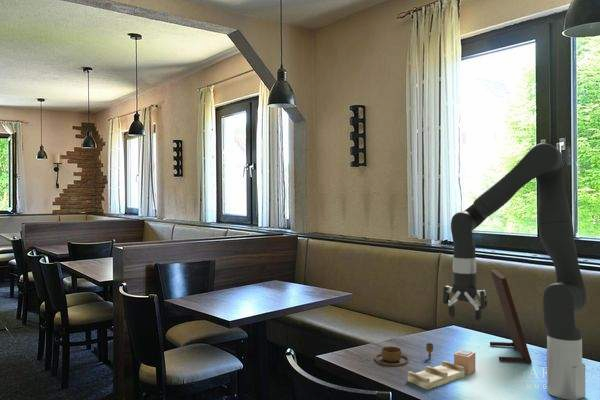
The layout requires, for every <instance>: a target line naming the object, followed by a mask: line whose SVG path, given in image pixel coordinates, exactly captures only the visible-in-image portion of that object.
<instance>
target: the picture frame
mask: <svg viewBox="0 0 600 400" xmlns="http://www.w3.org/2000/svg"><path fill="white" fill-rule="evenodd" d="M490 273H491V277H492V279H493V282H494V286H495V290H496V292H497V296H498V299H499V303H500V306H501V309H502V313H503V315H504V319H505V321H506V325H507V328H508V332H509V335H510V338H511V342H508V341H507V342H504V341H502V342H501V341H489V346H490V347H491V346H493V347H514V348H515V350H516V351H517V353H518V354H519V355H520V357H516V356H513V357H512V356H498V360H499V362H515V363H517V362H518V363H522V362H523V363H526V364H527V365H528V364H529V365H530V364H532V363H533V361H532V358H531V355H530V351H529V348H528V345H527V342H526V338H525V336H524V332H523V329H522V326H521V322H520V319H519V316H518V312H517V310H516V306H515V303H514V299H513V297H512V293H511V290H510V287H509V283H508V281H507V278H506V277H505V276H504V275H503V274H502V273H501V272H499V271H498V270H497V269H495V268H493V269H490Z"/></svg>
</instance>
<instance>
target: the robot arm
mask: <svg viewBox="0 0 600 400" xmlns="http://www.w3.org/2000/svg"><path fill="white" fill-rule="evenodd" d="M534 179H536V180H535V181H536V184H537V188H538V202H537V225H538V231H539V239H540V241H541V243H542V246H543V247H544V249H545V250H546V253H547V255H548V256H549V257H550V260H551V261H552V263H553V267H554V271H555V277H556V282H555V283H551V284H549V285H548V286H547V287H546V288H545V289H544V291H543V295H542V296H543V297H542V312H543V313H542V314H543V323H544V324H543V325H544V327H545V328H546V375H547V376H546V378H547V379H546V386H547V387H546V389H547V390H546V391H547V393H548V394H549V395H550V396H553V397H556V398H558V399H563V400H581V399H583V398H584V397H586V364H585V363H583V330H582V328H581V327H580V326H578V325H577V324H576V320H575V313H577V312H580V311H581V310H584V308H585V307H586V305H587V301H588V295H587V291H586V286H585V283H584V279H583V276H582V272H581V268H580V263H579V258H578V252H577V245H576V242H575V231H574V225H573V220H572V215H571V210H570V206H569V205H570V204H569V201H568V197H567V194H566V190H565V188H566V187H565V181H564V157H563V154H562V152H561V151H560V149H558V148H557V147H555V146H554V145H552V144H549V143H539V144H536V145H534V146H532V148H530V150H528V152H526V154H525V155H524V156H523V157H522V158H521V159H520V160H519V161H518V162H517V164H516V165H515V166H514V167H513V168H511V169H510V170H509V171H508V172H507V173H506V174H505V175H504V176H503V177H502V178H501V179H499V180H498V181H497V182H495V183H494V184H493V185H491V186H490V187H489V188H488V189H487V190H485V191H484V192H482V194H480V195H479V196H478V197H477V198H475V200H474V201H473V203H472V204H471V205H470V206H468V208H466V209H465V210H463V211H459V212H455V214H454V215H453V216H452V217H451V221H450V231H451V238H452V242H453V259H452V286H450V285H445V286H443V291H442V293H443V295H442V303H443V304H445V305H447V306H448V315H449V317H450V318H455V315H456V313H455V311H456V310H455V309H456V305H455V303H457V302H458V301H460V302H465V303H468V302H469V303H470V304H471V305H472V306H473V307H474V309H475V310H474V313H475V314H474V322H480V320H481V319H482V310H485V309H487V308H488V299H487V290H485V289H483V290H482V289H480V290H479V289H478V288H477V260H476V243H475V241H474V240H473V231H474V230H475V229H476V228H478V227H479V226H480V225H481V224H482V223H483V222H484V221H486V219H487V218H488V217H490V216H491V215H494V214H495V213H496V212H497V211H498V210H499V209H501V208H502V207H504V206H505V205H506V204H507V203H508V202H509V201H510V200H511V199H512V198H514V195H516V194H517V193H518V191H520V190H521V189H522V188H523V187H524V186H526V185H527V184H528V183H530V182H531V181H532V180H534ZM451 292H452V293H453V296H452V298H450V293H451ZM477 295H478V296H479V298H480V302H479V299H478V298H477V297H476V296H477Z"/></svg>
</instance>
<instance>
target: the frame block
mask: <svg viewBox="0 0 600 400" xmlns="http://www.w3.org/2000/svg"><path fill="white" fill-rule="evenodd" d="M453 363H454V364H457V365H460V366H463V367H464V373H465V374H464V375H468V374H469V375H470V373H473V372H475V371H476V369H477V368H476V352H475V351H472V350H471V351H470V350H466V349H459V350H457V351H456V352H454V354H453Z"/></svg>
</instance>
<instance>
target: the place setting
mask: <svg viewBox="0 0 600 400" xmlns="http://www.w3.org/2000/svg"><path fill="white" fill-rule="evenodd" d="M425 344H426V345H425V347H426V352H427V353H428V356H427V357H428V359H429V358H431V359H432V352H433V351H434V343H432V342H428V343H425ZM378 357H382V359H383V360H385V361H386V362H384V361H381V360H378V359H377V358H378ZM401 358H403V359H405V360H406V361H404V362H399V363H396V362H398V361H400V360H401ZM374 360H375V362H376V363H378V364H379V365H383V366H389V367H397V370H399V369H400V368H399V367H401V366H405V365H407V364H409V361H410V360H409V357H408V356H407V355H404V354H402V349H401V348H400V347H397V346H384V347H382V348H381V353H377V354H375V356H374Z"/></svg>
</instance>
